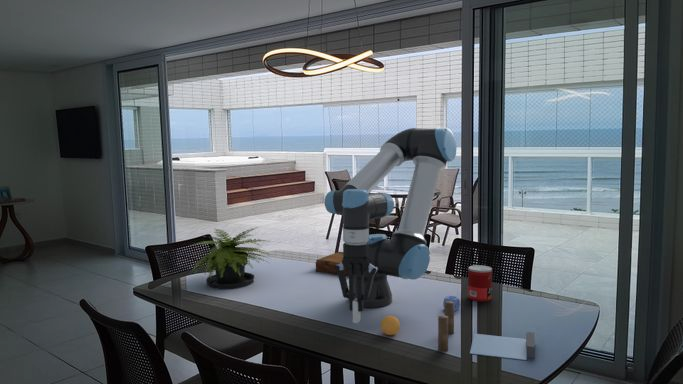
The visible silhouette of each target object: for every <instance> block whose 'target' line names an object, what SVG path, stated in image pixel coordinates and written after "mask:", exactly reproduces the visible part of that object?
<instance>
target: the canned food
mask: <svg viewBox="0 0 683 384" xmlns="http://www.w3.org/2000/svg"><path fill="white" fill-rule="evenodd" d="M467 273H468V274H467V288H468V289H467V296H468V299H469V300H471V301H473V302H479V303H480V302H481V303H483V302H486V303H487V302H490V301H491V300H492V297H493V295H492V293H493V292H492V291H493V268H492V267H491V266H487V265H480V264H474V265H470V266H468V271H467Z"/></svg>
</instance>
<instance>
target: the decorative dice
mask: <svg viewBox="0 0 683 384" xmlns="http://www.w3.org/2000/svg"><path fill="white" fill-rule="evenodd" d="M446 301H452V302H454V312H456V311H458V310H459V309H460V305H461V301H460V299H459V298H458V297H457V296H455V295H447V296H445V298H444V299H443V303H442V305H443V308H444V309H445V302H446Z"/></svg>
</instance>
